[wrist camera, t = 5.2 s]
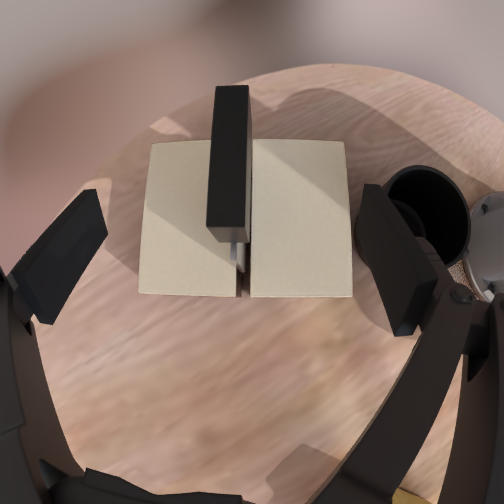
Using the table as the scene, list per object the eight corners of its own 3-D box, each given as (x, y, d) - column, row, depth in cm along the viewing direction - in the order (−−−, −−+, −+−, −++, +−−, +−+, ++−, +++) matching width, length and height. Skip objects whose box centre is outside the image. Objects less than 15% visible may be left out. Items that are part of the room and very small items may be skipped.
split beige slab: (330, 169, 34) (343, 141, 27) (334, 297, 31) (352, 296, 25) (171, 170, 34) (151, 143, 28) (162, 294, 32) (137, 293, 26)
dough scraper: (255, 159, 27) (249, 71, 15) (254, 272, 26) (244, 249, 14) (235, 159, 27) (216, 72, 15) (232, 272, 26) (204, 249, 14)
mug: (430, 301, 31) (476, 299, 22) (340, 257, 32) (366, 242, 23) (452, 227, 32) (496, 207, 23) (368, 181, 33) (398, 146, 24)
